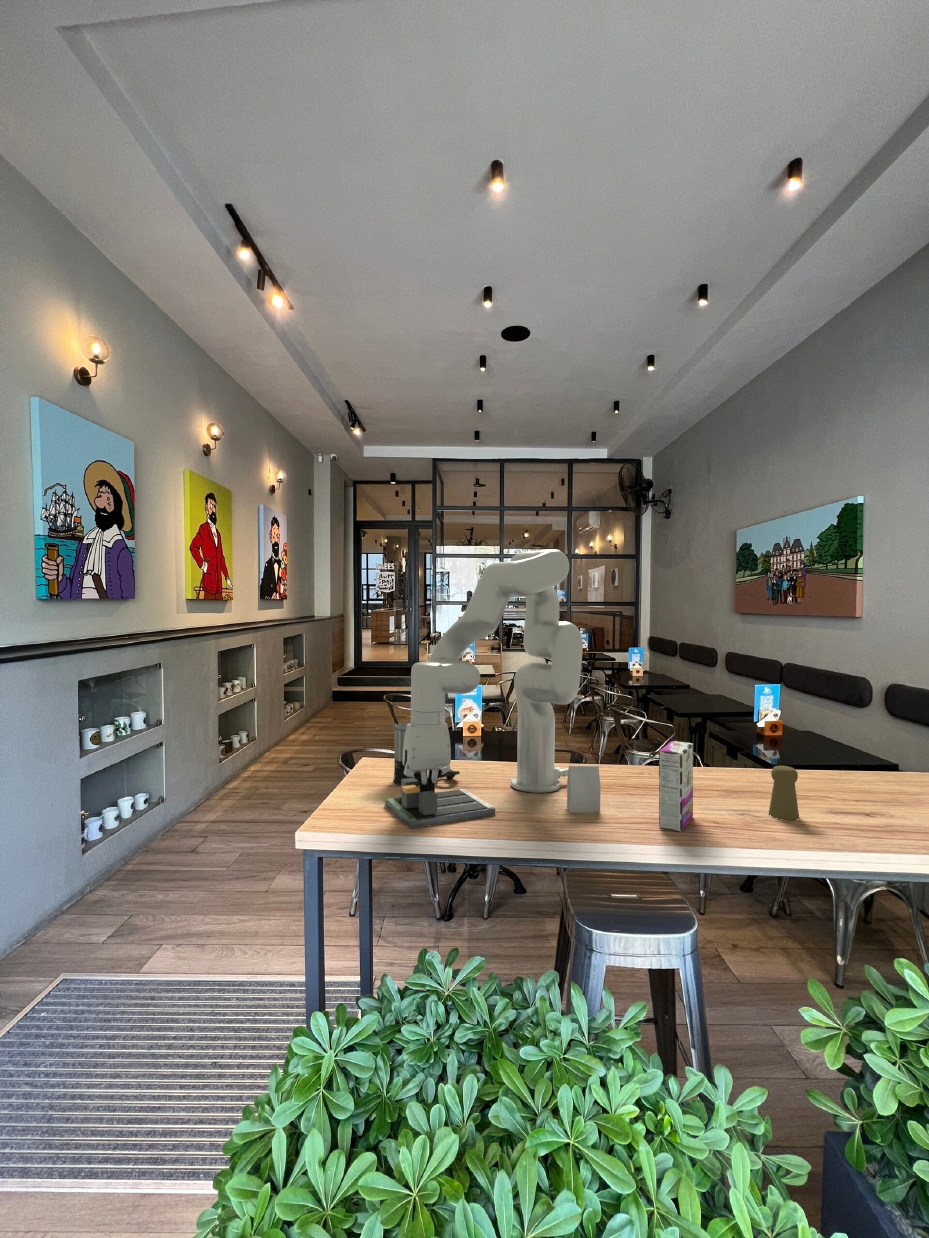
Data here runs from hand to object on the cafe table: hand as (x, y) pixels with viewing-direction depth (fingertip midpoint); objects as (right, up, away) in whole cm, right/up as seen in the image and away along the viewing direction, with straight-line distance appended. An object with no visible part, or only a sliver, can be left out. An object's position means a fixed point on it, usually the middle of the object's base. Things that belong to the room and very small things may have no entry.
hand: (427, 800), depth 134 cm
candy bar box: (+54, -4, -5) cm, 54 cm away
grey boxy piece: (+35, -3, +3) cm, 36 cm away
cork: (+79, -4, 0) cm, 79 cm away
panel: (+3, -3, +1) cm, 4 cm away
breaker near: (+1, -1, -6) cm, 6 cm away
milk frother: (-2, -3, +24) cm, 24 cm away
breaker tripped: (-4, -1, -2) cm, 4 cm away
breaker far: (-4, -1, +4) cm, 6 cm away
